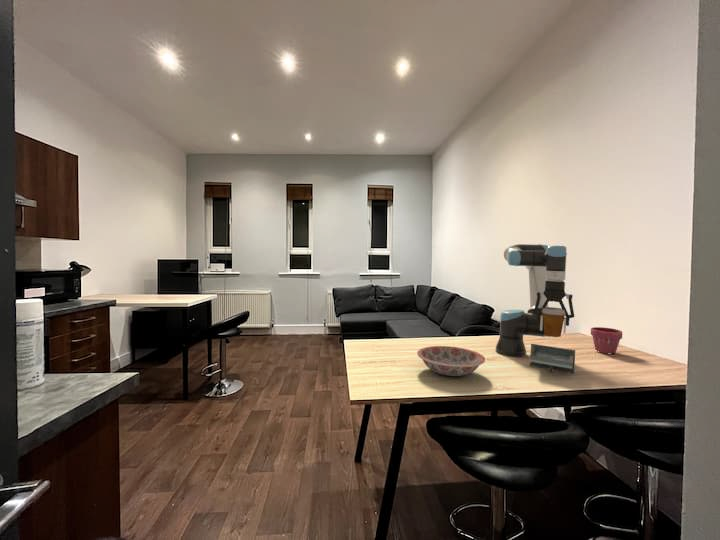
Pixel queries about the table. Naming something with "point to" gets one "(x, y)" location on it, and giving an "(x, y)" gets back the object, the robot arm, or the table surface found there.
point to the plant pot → (606, 339)
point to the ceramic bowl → (451, 360)
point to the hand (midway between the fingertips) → (552, 331)
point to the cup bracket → (552, 358)
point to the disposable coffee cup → (553, 321)
